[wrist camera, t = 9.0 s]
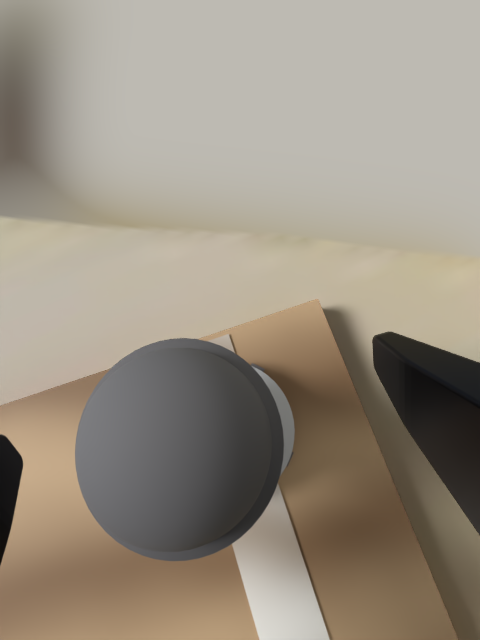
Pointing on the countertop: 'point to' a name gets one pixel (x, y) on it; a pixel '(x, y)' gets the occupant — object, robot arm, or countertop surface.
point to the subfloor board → (248, 551)
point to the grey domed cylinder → (182, 448)
